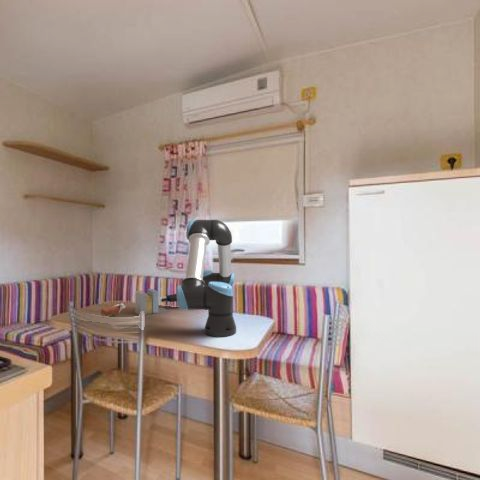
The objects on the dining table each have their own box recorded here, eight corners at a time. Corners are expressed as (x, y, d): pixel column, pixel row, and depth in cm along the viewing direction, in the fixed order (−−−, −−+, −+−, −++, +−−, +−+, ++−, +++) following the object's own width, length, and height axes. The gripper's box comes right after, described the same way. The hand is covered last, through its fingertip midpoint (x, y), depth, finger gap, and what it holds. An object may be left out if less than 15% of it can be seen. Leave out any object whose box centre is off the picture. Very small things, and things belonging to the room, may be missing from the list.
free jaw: (152, 308, 176) (152, 288, 176) (158, 312, 168) (158, 291, 168) (147, 309, 175) (147, 289, 175) (153, 313, 167) (153, 292, 166)
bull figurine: (126, 317, 163) (126, 303, 163) (102, 323, 153) (102, 307, 153) (123, 316, 166) (123, 301, 166) (98, 321, 156) (98, 306, 156)
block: (148, 310, 174) (148, 293, 174) (152, 313, 167) (152, 295, 167) (141, 311, 172) (141, 294, 172) (145, 314, 165) (145, 296, 165)
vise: (162, 309, 181) (162, 288, 180) (169, 313, 172) (169, 291, 171) (134, 313, 171) (134, 291, 171) (139, 318, 162) (139, 294, 162)
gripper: (197, 303, 181) (159, 309, 167) (188, 299, 191) (152, 304, 178) (197, 291, 180) (159, 296, 167) (188, 288, 191) (152, 292, 178)
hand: (155, 300), depth 173 cm, fingers closed
